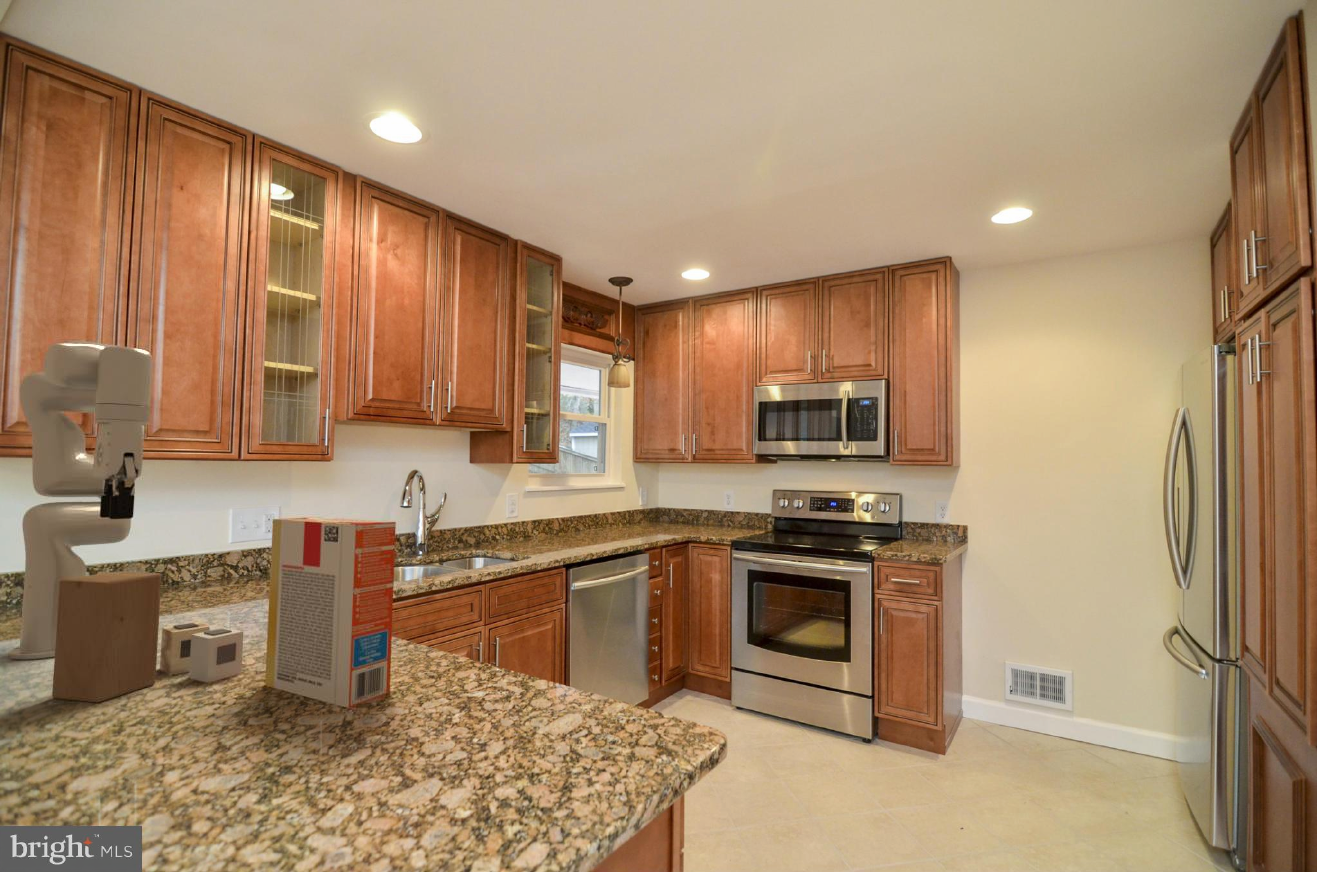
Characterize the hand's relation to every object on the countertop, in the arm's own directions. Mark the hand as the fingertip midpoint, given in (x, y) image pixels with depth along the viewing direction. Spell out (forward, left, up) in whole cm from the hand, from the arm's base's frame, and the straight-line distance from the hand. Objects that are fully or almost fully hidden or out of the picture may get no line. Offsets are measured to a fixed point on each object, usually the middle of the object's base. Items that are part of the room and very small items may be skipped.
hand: (116, 516), depth 112 cm
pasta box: (+29, +24, -31) cm, 49 cm away
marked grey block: (+5, +15, -30) cm, 34 cm away
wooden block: (0, 0, -31) cm, 31 cm away
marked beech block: (-5, +13, -30) cm, 34 cm away
